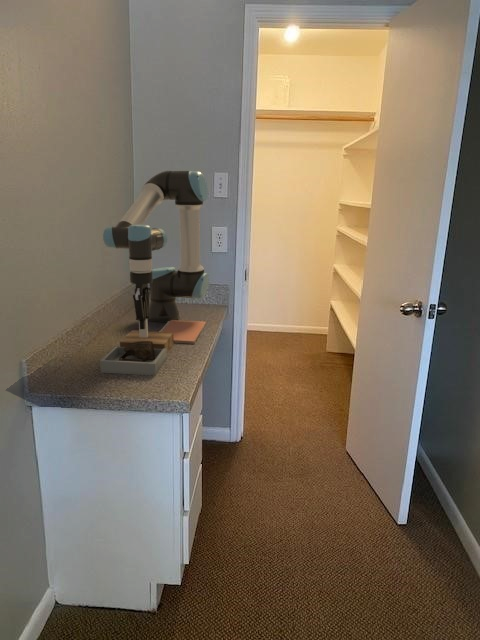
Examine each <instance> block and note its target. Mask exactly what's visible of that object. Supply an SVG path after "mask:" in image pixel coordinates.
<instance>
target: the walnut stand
mask: <svg viewBox="0 0 480 640" xmlns="http://www.w3.org/2000/svg"><path fill="white" fill-rule="evenodd" d="M139 341H152V343H153V348H154V349H163V348H165V349H167V355H168V354H169V352H170V351H171V349H172V348H173V346H174V345H175V343H174V338H173V332H159V331H154V330H148V337H147V338H142V337H139V330H131V331H130V332H129V333H128V334H127V335H125V337H124V338H122V339H121V340H120V341H119V347H126V346H127V345H129V344H131V343H134V342H139Z"/></svg>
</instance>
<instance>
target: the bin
mask: <svg viewBox="0 0 480 640" xmlns="http://www.w3.org/2000/svg"><path fill="white" fill-rule="evenodd" d="M124 348H125V347H120V345H115V346H114V347H113V348H112V349H111V350H110V351H109V352H107V354H106V355H104V356H103V357H102V358H101V359H100V361H99V367H100V373H102V374H103V373H104V374H105V373H106V374H118V375H119V374H120V375H121V374H122V375H139V376H141V375H142V376H157V374H158V373H159V371H160V369H161V368H162V367H163V365H164V364H165V363H166V361H167V360H168V354H167V349H165V348H163V349H154V353H155V360H151V359H149V360H148V361H146V362H134V361H119V359H120V358H121V357H122V356H123V355H124V354H125V353H126V352H125V351H124V350H123V349H124ZM125 359H137V360H142V359H144V358H139V357H135V356H133V355H131V356H127V357H126V358H125Z"/></svg>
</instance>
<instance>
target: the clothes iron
mask: <svg viewBox="0 0 480 640" xmlns="http://www.w3.org/2000/svg"><path fill="white" fill-rule="evenodd" d="M123 350H124V351H125V352H126V353H125V354H124V355H123V356H122V357H121V358H120V359H119V361H134V362H146V361H148V360H149V359H151V360H155V353H154V348H153V343H152V341H139V342H134V343H131V344H129V345H127V346H126V347H125V348H124V349H123ZM131 355H133V356H135V357H139V358H144V359H142V360H137V359H125V358H126V357H127V356H131Z"/></svg>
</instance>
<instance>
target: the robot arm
mask: <svg viewBox="0 0 480 640" xmlns="http://www.w3.org/2000/svg"><path fill="white" fill-rule="evenodd" d="M208 192H209V191H208V183H207V180H206V178H205V176H204V174H203V173H202V172H201V171H195V170H165V171H161V172H159V173H157V174H156V175H153V176H151V178H149V179H148V180H147V181H146V182H145V184H143V186H142V188H141V193H140V194H139V195H138V197H137V198H136V199H135V201H134V202H133V203H132V205H131V206H130V207H129V209H128V210H127V211H126V213H125V214H124V215H123V216H122V217H121V219H120V220H119V221H118V223H117V224H116V225H115V226H112V225H111V226H106V228H105V229H104V230H103V233H102V241H103V242H104V243H103V244H104V245H105V246H106V247H108V248H111V249H112V248H113V249H125V250H126V249H127V250H128V253H129V255H128V256H129V257H128V258H129V260H128V262H127V263H128V264H129V270H130V272H129V281H130V283H131V284H134V285H135V288H134V294H132V298H133V303H134V310H135V311H134V312H135V320H136V321H138V331H139V337H142V338H147V337H148V331H149V325H148V324H149V323H148V321H150V322H155V323H167V322H168V321H169V322H170V321H171V320H179V319H181V312H180V310H179V308H178V307H179V306H178V304H177V298H183V299H192V300H194V299H197V300H200V299H203V298H204V297H205V295H206V294H207V291H208V287H209V281H210V277H209V274H208V273H206V272H205V268H204V266H203V265H201V229H200V228H201V226H200V223H201V221H200V218H201V217H200V209H201V208H202V206H203V205H204V202H205V201H206V200H207V198H208V194H209V193H208ZM167 200H168V201H169V200H171V201H172V200H174V204H175V206H176V207H177V208H178V216H179V221H178V222H179V224H178V225H179V243H180V244H179V249H180V250H179V251H180V253H179V254H180V265H179V266H178V267H177V270H176V267H174V266H168V267H167V266H165V267H158V268H154V269H153V257H152V256H153V254H152V253H153V251H158V250H160V249H163V248H164V247H165V246H166V245H167V242H168V236H167V233H166V232H165V230H163V229H162V228H159V227H153V228H151V226H150V225H149V224H145V222H146V221H147V220H148V218H149V217H150V216H151V214H152V213H153V211H154V210H155V208H156V207H157V206H158V205H161V204H162V202H164V201H167Z"/></svg>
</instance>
